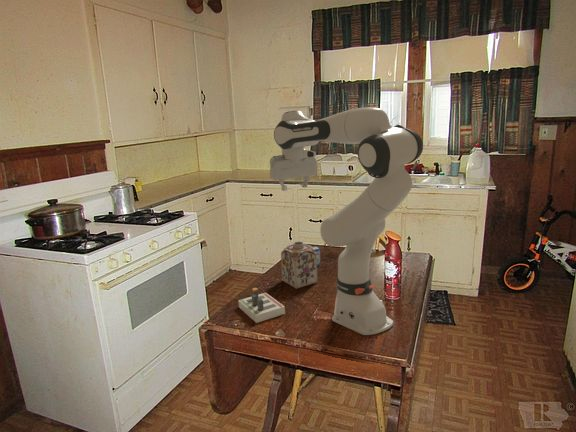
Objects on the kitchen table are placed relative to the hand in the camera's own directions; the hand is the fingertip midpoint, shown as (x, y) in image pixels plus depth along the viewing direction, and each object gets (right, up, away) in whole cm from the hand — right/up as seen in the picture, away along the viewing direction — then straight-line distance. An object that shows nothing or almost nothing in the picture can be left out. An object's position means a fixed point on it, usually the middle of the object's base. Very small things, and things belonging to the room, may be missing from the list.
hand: (294, 188), depth 167 cm
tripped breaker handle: (-15, -43, -3) cm, 46 cm away
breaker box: (-13, -47, -6) cm, 49 cm away
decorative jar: (+2, -40, +19) cm, 44 cm away
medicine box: (+9, -35, +37) cm, 52 cm away
